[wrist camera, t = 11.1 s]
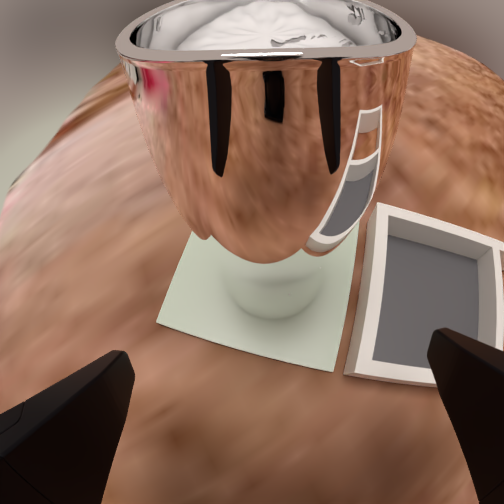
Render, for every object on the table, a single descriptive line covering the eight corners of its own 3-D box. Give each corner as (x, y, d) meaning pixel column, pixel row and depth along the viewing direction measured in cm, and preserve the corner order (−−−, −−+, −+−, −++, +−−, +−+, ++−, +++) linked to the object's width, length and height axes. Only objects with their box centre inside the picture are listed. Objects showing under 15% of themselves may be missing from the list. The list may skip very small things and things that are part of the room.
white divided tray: (544, 277, 16) (559, 266, 13) (544, 388, 11) (562, 384, 9) (213, 190, 21) (206, 168, 19) (158, 323, 17) (142, 313, 15)
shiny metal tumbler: (196, 294, 17) (49, 70, 4) (250, 209, 20) (220, -18, 7) (299, 347, 16) (425, 127, 2) (344, 249, 18) (426, 15, 5)
